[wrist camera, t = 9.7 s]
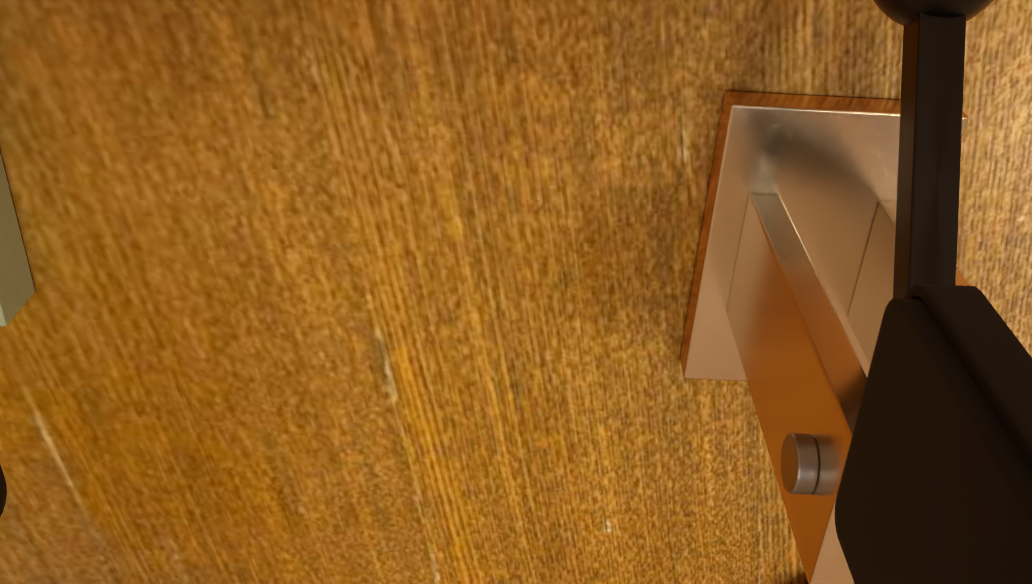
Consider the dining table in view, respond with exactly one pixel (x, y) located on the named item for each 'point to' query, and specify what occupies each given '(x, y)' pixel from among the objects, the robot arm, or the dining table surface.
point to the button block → (11, 258)
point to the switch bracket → (799, 285)
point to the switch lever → (929, 138)
